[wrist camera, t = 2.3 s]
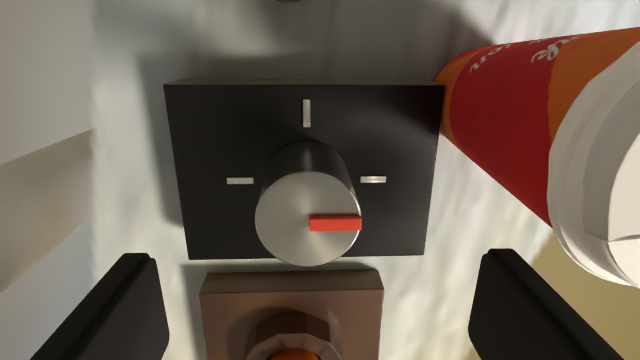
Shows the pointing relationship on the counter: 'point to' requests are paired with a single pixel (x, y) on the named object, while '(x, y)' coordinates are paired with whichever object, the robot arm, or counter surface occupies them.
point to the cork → (287, 0)
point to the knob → (307, 206)
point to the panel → (303, 125)
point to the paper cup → (559, 137)
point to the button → (293, 354)
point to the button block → (292, 314)
